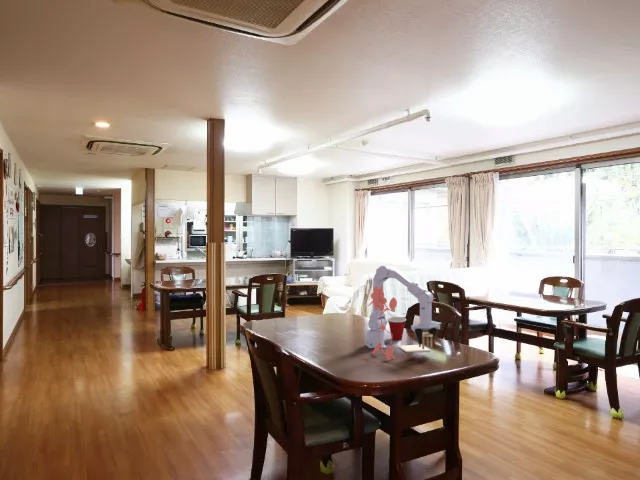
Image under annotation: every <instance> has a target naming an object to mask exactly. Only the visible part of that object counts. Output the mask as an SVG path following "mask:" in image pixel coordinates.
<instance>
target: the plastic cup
mask: <svg viewBox="0 0 640 480" xmlns="http://www.w3.org/2000/svg"><path fill="white" fill-rule="evenodd" d="M386 321H387V323H388V326H389V332H390V333H391V334H390V333H389V334H390V337H391V338H392V341H402V340H403V335H404V330H405V324H406V321H407V318H405V317H401V316H390V317H388V318H386ZM392 334H393V336H392ZM391 338H390V339H391Z"/></svg>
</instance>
